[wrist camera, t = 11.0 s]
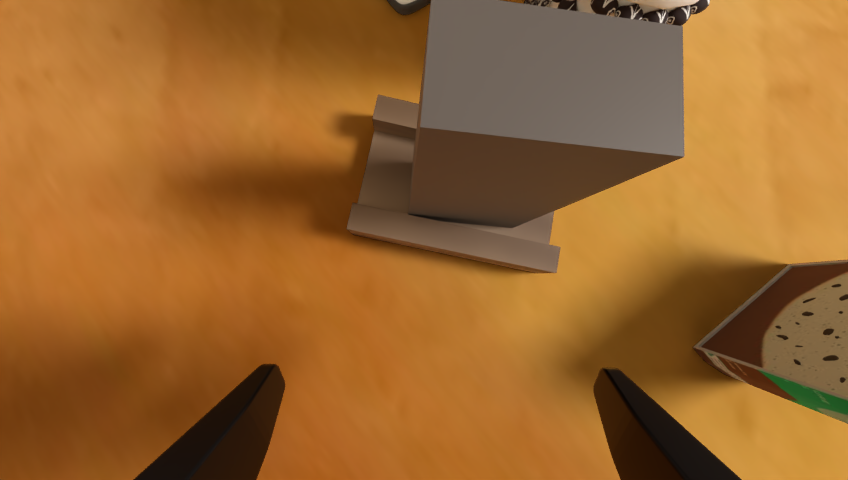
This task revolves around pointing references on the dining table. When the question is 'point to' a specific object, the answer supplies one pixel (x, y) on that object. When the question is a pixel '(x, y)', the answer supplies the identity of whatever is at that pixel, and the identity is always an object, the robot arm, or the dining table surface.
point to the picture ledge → (389, 220)
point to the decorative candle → (632, 8)
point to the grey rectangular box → (539, 109)
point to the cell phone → (408, 5)
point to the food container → (790, 338)
